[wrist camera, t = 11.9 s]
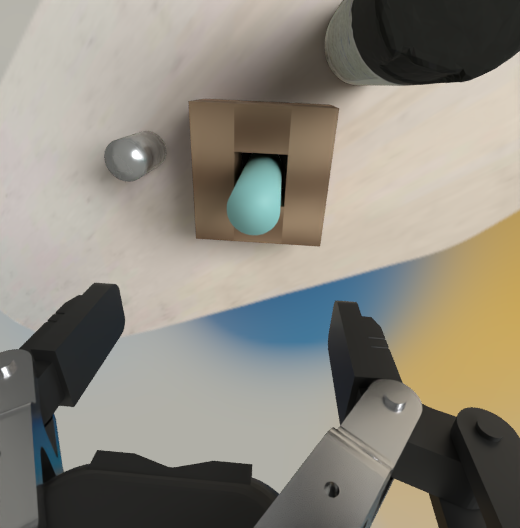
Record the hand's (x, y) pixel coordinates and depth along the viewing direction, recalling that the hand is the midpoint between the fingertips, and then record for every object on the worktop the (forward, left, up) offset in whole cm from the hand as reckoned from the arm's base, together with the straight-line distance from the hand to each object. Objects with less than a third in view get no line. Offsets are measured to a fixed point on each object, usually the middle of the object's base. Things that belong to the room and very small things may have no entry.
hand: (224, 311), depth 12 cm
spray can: (-11, +8, -26) cm, 29 cm away
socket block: (0, 0, -25) cm, 25 cm away
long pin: (0, 0, -25) cm, 25 cm away
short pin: (-1, -12, -25) cm, 28 cm away
